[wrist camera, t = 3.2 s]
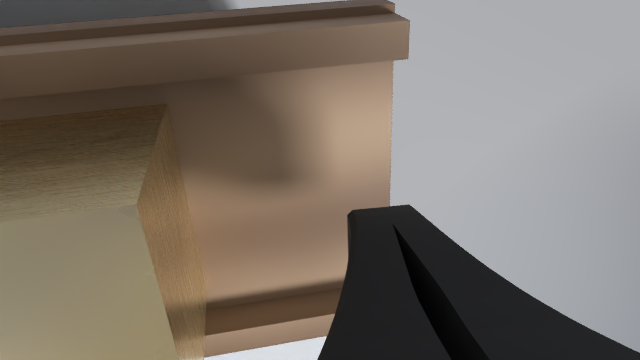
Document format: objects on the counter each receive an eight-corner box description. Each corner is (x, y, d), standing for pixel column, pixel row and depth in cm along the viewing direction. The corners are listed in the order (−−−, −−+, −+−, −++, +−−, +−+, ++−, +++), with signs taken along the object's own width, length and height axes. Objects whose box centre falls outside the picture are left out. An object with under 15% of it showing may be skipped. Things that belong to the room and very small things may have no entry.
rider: (206, 289, 13) (200, 438, 9) (-3, 322, 13) (-103, 499, 9) (167, 103, 11) (136, 204, 7) (-102, 131, 10) (-306, 262, 6)
